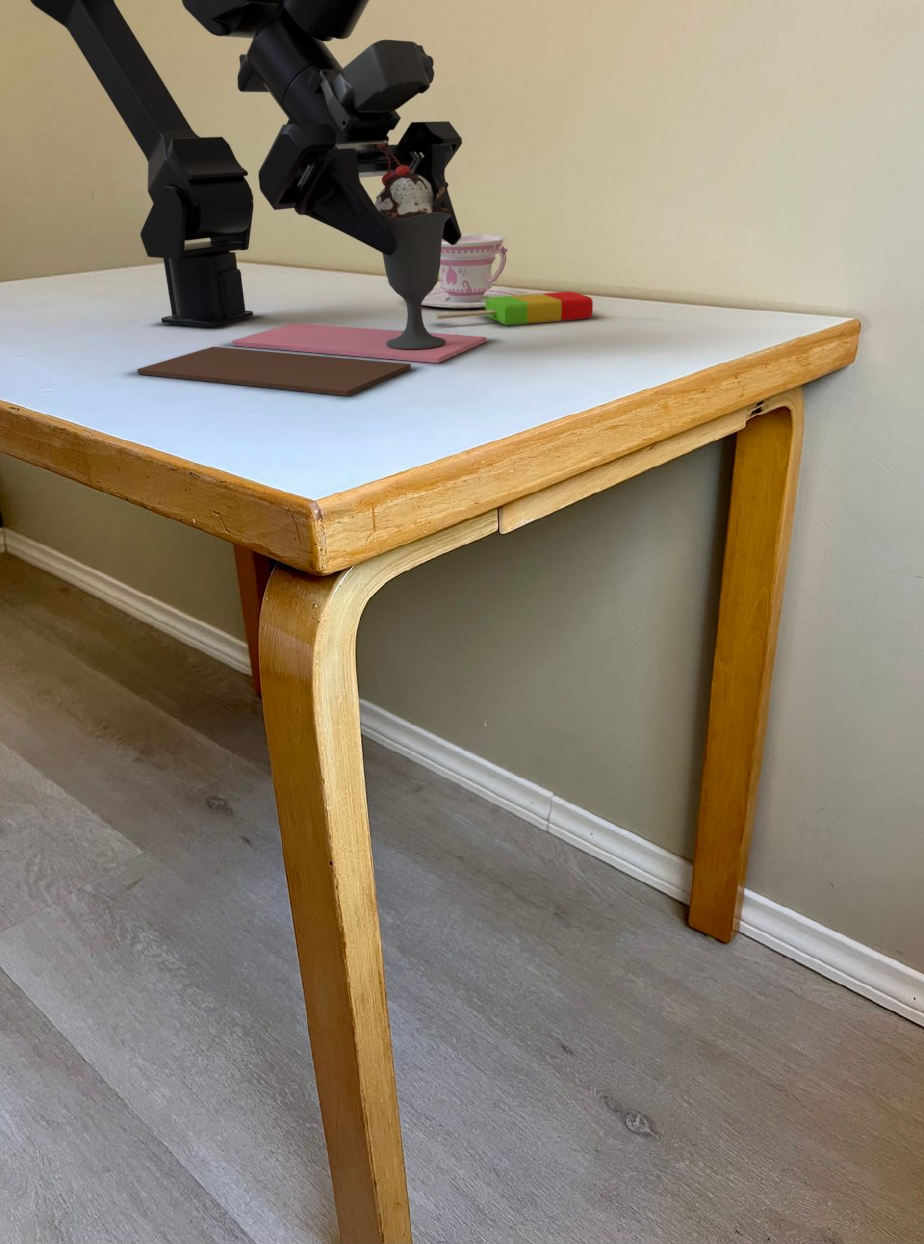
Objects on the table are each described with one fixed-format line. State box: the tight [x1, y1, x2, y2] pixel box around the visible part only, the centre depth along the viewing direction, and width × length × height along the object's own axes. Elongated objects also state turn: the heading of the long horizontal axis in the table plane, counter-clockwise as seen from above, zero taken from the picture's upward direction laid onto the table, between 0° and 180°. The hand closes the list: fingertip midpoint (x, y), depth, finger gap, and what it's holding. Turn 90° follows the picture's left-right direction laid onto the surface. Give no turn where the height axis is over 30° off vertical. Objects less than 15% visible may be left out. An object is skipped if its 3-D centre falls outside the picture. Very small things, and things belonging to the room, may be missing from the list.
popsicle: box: [435, 291, 594, 326], centre depth 91 cm, size 6×15×2 cm, turn 109°
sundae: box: [374, 143, 456, 350], centre depth 77 cm, size 7×7×15 cm
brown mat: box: [136, 346, 412, 397], centre depth 74 cm, size 19×9×1 cm, turn 64°
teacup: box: [422, 233, 526, 309], centre depth 100 cm, size 12×12×6 cm
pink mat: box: [231, 322, 487, 364], centre depth 83 cm, size 20×9×1 cm, turn 64°
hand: (426, 245), depth 76 cm, fingers open, 7 cm apart
